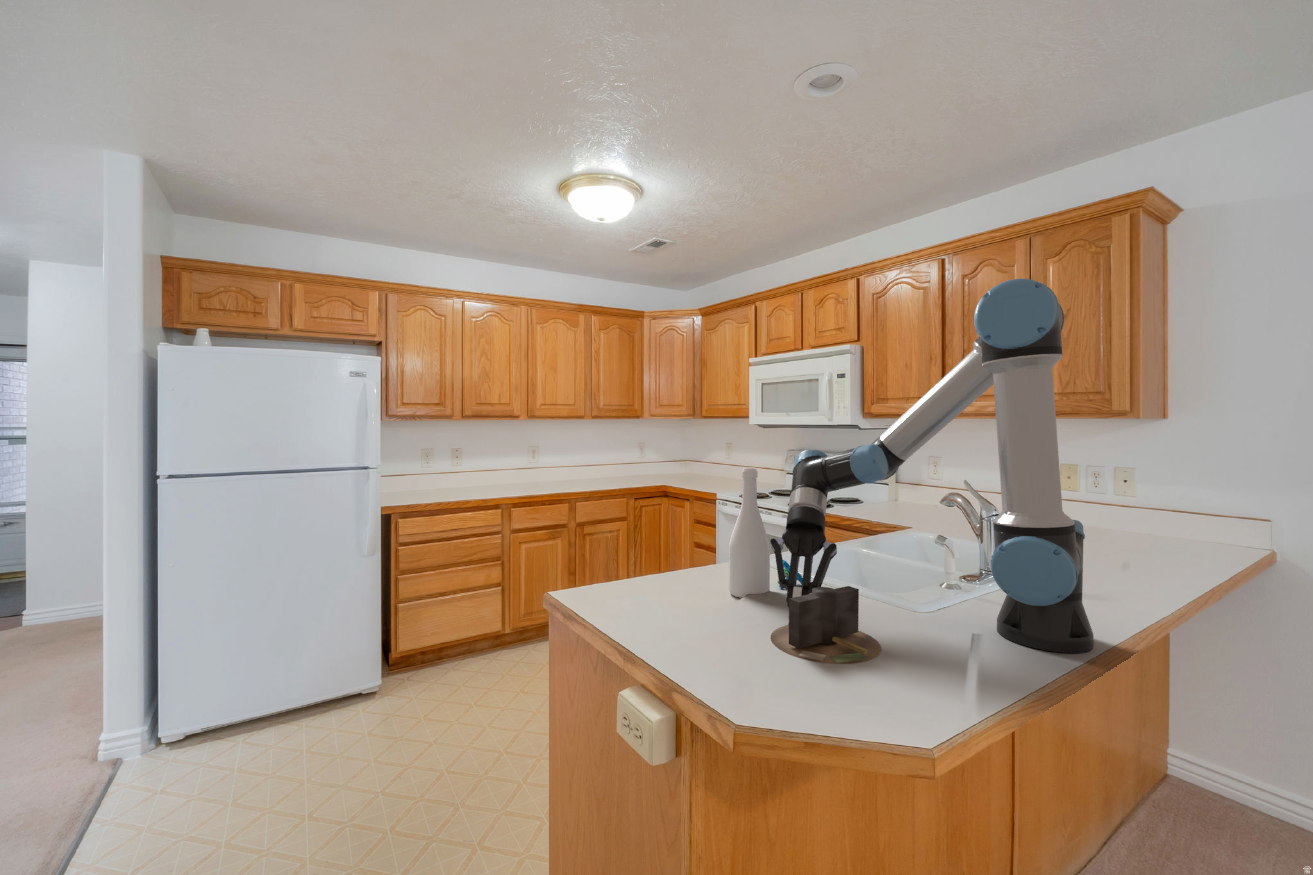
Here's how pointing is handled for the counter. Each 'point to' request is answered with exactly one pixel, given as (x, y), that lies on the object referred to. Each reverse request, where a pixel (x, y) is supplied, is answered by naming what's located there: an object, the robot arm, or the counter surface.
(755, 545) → the wine bottle
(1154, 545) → the counter surface
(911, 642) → the counter surface
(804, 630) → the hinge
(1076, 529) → the robot arm
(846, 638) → the dial
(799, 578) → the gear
